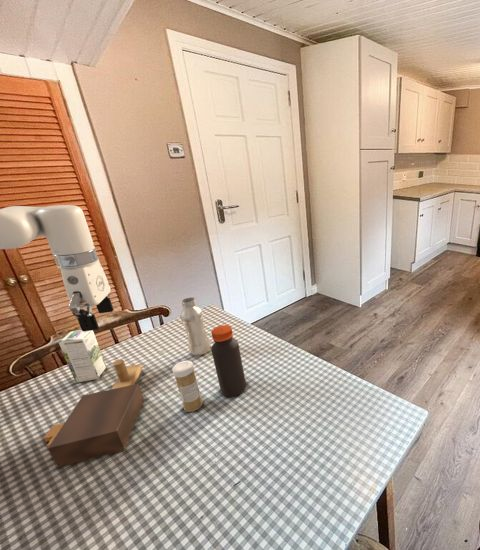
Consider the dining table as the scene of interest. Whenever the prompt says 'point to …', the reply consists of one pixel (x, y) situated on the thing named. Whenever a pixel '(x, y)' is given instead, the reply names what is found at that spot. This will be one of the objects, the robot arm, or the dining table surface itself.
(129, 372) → the brush
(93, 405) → the brown box
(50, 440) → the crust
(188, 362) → the sprinkles bottle
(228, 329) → the vinegar
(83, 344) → the syrup box
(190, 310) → the plastic bottle
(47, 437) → the crust
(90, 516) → the dining table surface
